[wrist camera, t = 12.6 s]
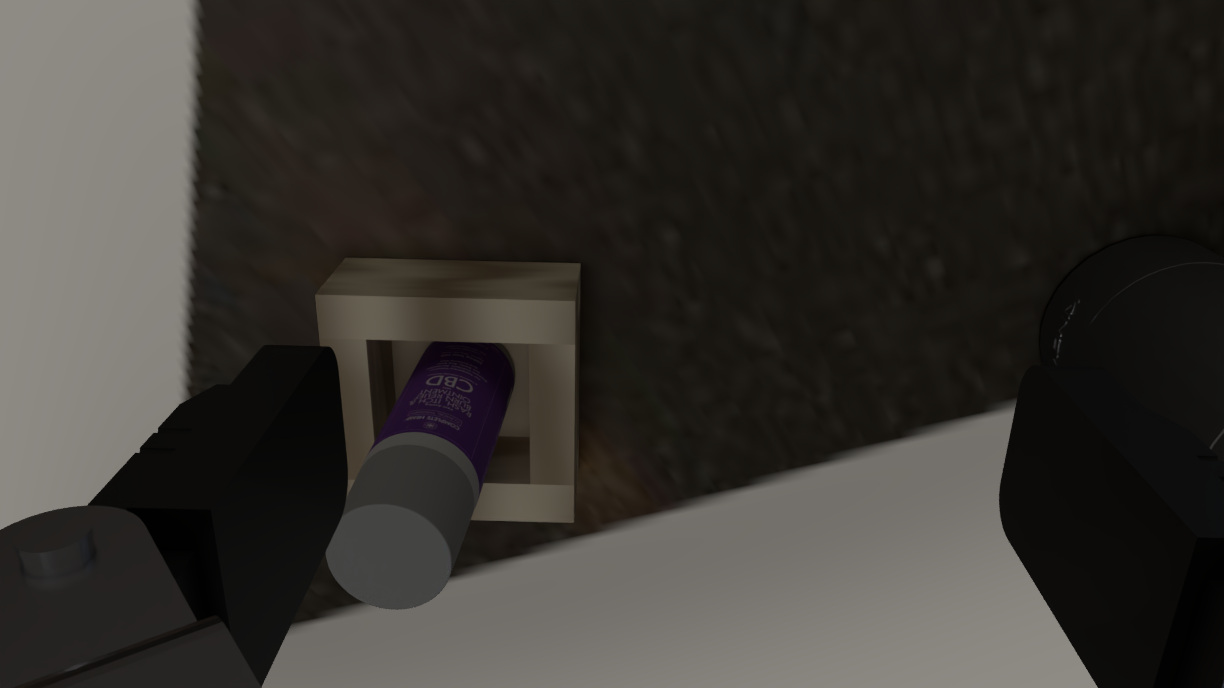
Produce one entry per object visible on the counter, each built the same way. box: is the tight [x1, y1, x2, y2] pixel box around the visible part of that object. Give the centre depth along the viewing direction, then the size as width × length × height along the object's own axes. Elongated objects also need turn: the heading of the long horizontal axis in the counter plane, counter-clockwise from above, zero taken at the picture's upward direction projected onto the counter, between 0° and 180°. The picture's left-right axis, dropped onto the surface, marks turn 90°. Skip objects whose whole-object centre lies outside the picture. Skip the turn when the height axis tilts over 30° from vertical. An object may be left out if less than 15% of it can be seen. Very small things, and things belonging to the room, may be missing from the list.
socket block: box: [315, 258, 581, 523], centre depth 47 cm, size 11×11×5 cm
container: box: [326, 341, 515, 609], centre depth 42 cm, size 5×5×15 cm
